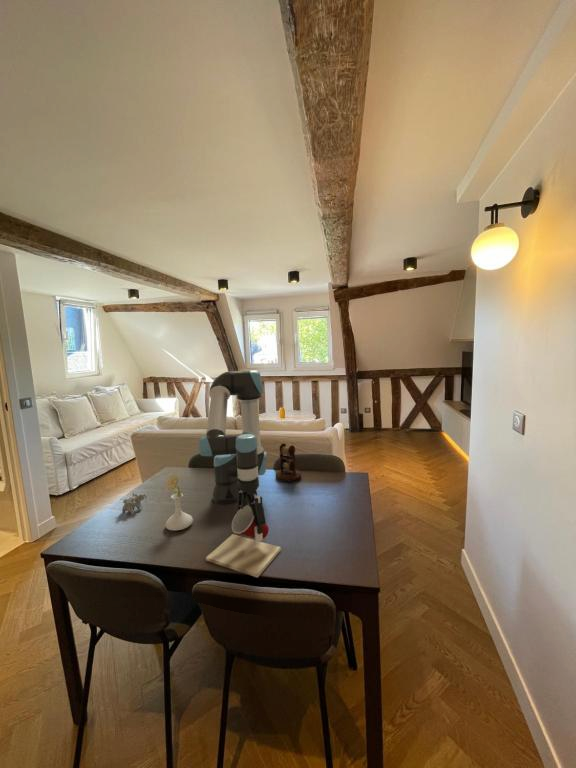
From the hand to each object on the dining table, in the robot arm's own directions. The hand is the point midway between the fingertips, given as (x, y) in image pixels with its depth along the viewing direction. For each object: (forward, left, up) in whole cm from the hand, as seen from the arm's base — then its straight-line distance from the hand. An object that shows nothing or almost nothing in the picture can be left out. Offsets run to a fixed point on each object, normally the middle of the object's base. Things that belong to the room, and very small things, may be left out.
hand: (251, 535), depth 123 cm
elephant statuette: (-71, +4, -7) cm, 71 cm away
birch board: (-1, -4, -6) cm, 7 cm away
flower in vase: (-38, +1, -7) cm, 39 cm away
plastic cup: (+2, +5, -1) cm, 5 cm away
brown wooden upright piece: (-18, +65, -7) cm, 68 cm away
